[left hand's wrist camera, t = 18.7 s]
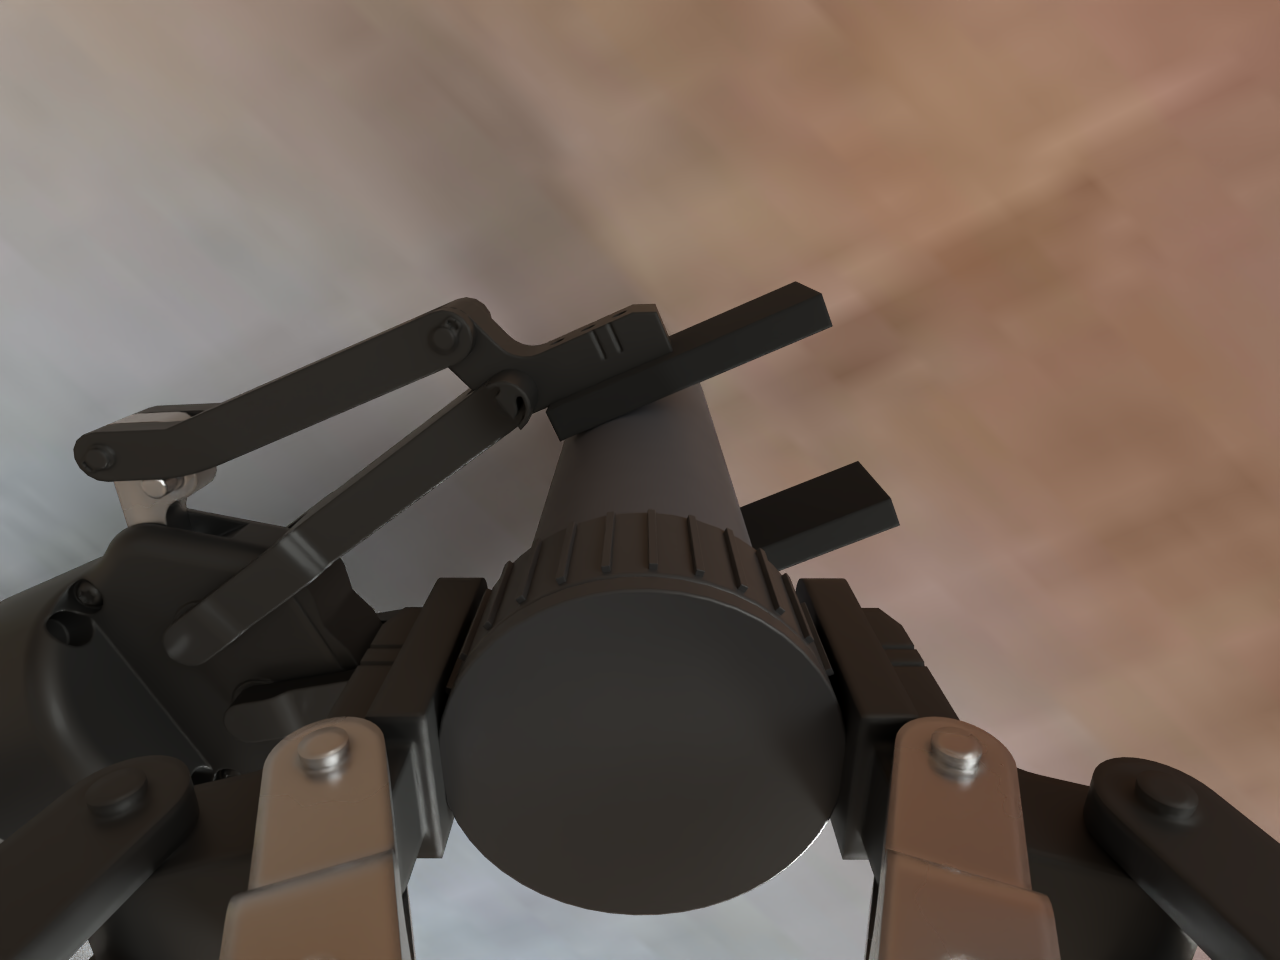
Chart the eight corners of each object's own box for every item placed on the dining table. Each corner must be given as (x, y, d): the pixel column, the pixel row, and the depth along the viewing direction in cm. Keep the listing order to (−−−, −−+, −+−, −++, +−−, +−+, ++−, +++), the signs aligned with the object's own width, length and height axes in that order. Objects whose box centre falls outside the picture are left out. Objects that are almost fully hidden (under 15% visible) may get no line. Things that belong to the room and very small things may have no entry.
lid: (787, 470, 10) (825, 542, 8) (835, 766, 12) (876, 886, 10) (422, 546, 11) (369, 632, 9) (524, 819, 13) (500, 946, 10)
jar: (626, 493, 26) (606, 893, 11) (551, 395, 25) (415, 699, 10) (729, 426, 25) (860, 763, 10) (658, 320, 24) (687, 531, 9)
